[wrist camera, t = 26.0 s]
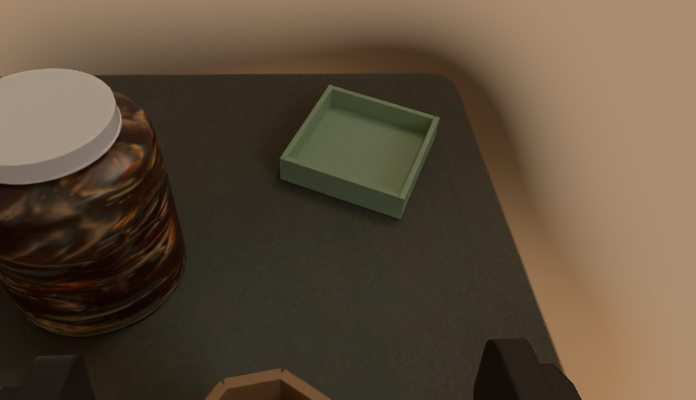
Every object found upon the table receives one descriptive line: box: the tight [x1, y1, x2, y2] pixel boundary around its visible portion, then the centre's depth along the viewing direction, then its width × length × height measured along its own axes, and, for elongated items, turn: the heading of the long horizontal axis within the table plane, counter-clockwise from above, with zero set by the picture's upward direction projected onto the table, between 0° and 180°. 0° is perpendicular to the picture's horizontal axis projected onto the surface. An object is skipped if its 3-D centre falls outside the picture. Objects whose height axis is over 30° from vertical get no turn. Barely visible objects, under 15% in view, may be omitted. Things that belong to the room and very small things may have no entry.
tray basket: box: [280, 85, 440, 219], centre depth 51 cm, size 11×11×3 cm
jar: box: [0, 68, 186, 337], centre depth 37 cm, size 12×12×15 cm
